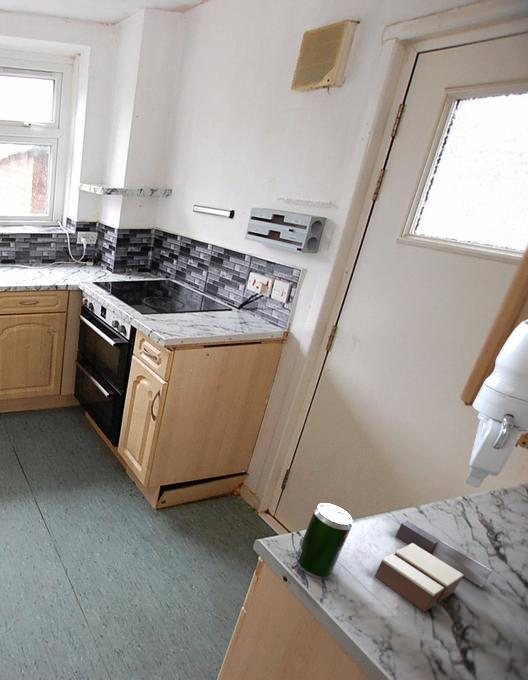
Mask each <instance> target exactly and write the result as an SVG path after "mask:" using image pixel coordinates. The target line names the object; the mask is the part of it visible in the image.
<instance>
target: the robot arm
mask: <svg viewBox="0 0 528 680" xmlns="http://www.w3.org/2000/svg"><path fill="white" fill-rule="evenodd" d="M494 364H495V365H494V369H493V371H492V372H491V374H490V375H489V376H488V377H487V378H485V380H484V381H483V384H482V386H481V387H480V389H479V391H478V393H477V395H476V397H475V399H474V401H473V403H472V408H473V409H474V410H475V411H477V412H478V414H477V419H478V420H479V422H478V425H477V430H476V435H475V439H474V442H473V447H472V452H471V455H470V459H469V467H471V469H470V471H469V473H468V474H467V477H466V479H465V484H467V485H469V486H472V487H474V488H479V487H480V486H481V485H482V484H483V482H484V480H485V479H486V478H487V477H488V476H489V475H491V476H493V477H497V476H498V475H500V473H501V472H502V471H503V469H504V467H505V466H506V464H507V462H508V461H509V459H510V456H511V455H512V453H513V451H514V449H515V447H516V444H517V442H518V439H519V436H520V435H526V434H527V435H528V318H527V319H525V320H523V321H521V322H520V323H519V324H518V325H517V326H516V327H515V328H514V330H513V331H512V332H511V334H510V335H509V336H508V337H507V339H506V341H505V342H504V344H503V346H502V348H501V349H500V350H499V353H498V355H497V356H496V358H495V363H494Z"/></svg>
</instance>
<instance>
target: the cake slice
mask: <svg viewBox="0 0 528 680" xmlns="http://www.w3.org/2000/svg"><path fill="white" fill-rule="evenodd" d="M374 577H375V578H376V579H377V580H379V581H380V582H382V583H383V584H384V585H385V586H387V587H389V588H390V589H392V590H393V591H394V592H395V593H397V594H399V595H400V596H402V597H403V598H404V599H405V600H407V601H408V602H410V603H411V604H413V605H414V606H415V607H417V608H418V609H420V610H421V611H422V612H424V613H425V612H427V611H429V610H430V609H431V608H433V607H434V606H435V605H436V603H437V602H436V601H437V600H438V598H439V596H440V594H441V593H442V591H443V589H444V587H442V586H441V585H439V584H438V583H436V582H435V581H433V580H432V579H430V578H429V577H427V576H426V575H424V574H423V573H421V572H420V571H418V570H417V569H415V568H414V567H412V566H410V565H409V564H407V563H406V562H404V561H403V560H401V559H400V558H398V557H397V556H395V553H390V554H389V555H387V556H386V557H384V558H382V559H381V561H380V564H379V566H378V568H377V569H376V572H375V573H374Z"/></svg>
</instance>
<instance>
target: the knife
mask: <svg viewBox="0 0 528 680" xmlns="http://www.w3.org/2000/svg"><path fill="white" fill-rule="evenodd" d="M395 538H398V540H400V541H402V542H404V543H405V544H406V545H409V544H411V543H414V544H415V545H417V546H418V547H420V548H422V549H423V550H425V551H426V552H428V553H430V554H431V555H433V556H434V557H436V558H438V559H439V560H441V561H442V562H444V563H446V564H447V565H449V566H451V567H452V568H454V569H455V570H457V571H459V572H460V573H462V574H463V577H464V578H466V579H467V580H469V581H470V582H472V583H474V584H476V585H477V586H479V587H480V588H483V587H484V586H485V583H486V582H487V580H488V579H489V577H490V575H491V574H492V572H493V569H491V568H489V567H488V566H486V565H484V564H482V563H481V562H479V561H477V560H475V559H474V558H472V557H471V556H469V555H468V554H465V553H464V552H462V551H460V550H459V549H457V548H455V547H453V546H452V545H450V544H449V543H447V542H445V541H444V540H442V539H439V538H438V537H436V536H434V535H433V534H431V533H429V532H427V531H425V530H424V529H422V528H420V527H419V526H417V525H416V524H414V523H412V522H410V521H409V520H406V521H403V522H401V524H400V526H399V527H398V530H397V531H396V533H395Z"/></svg>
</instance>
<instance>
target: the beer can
mask: <svg viewBox="0 0 528 680" xmlns="http://www.w3.org/2000/svg"><path fill="white" fill-rule="evenodd" d="M352 522H353V519H352V516H351V515H350V514H349V513H348V512H347V511H346V510H344V509H343V508H341V507H339V506H337V505H334V504H331V503H326V502H322V503H318V505H317V507H316V508H315V509H314V510H313V513H312V515H311V518H310V521H309V523H308V526H307V528H306V531H305V532H304V535H303V538H302V541H301V542H300V543H301V544H300V545H299V548H298V551H297V553H296V563H297V566H298V567H299V568H300V570H301V571H303V572H304V573H305V574H306V575H308V576H309V577H312V578H315V579H319V580H324V579H326V578H328V577H330V576H331V575H332V573H333V571H334V569H335V567H336V564H337V561H338V559H339V557H340V554H341V552H342V550H343V548H344V545H345V543H346V541H347V538H348V536H349V533H350V531H351V530H352V527H353V526H352V525H353V524H352Z"/></svg>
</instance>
